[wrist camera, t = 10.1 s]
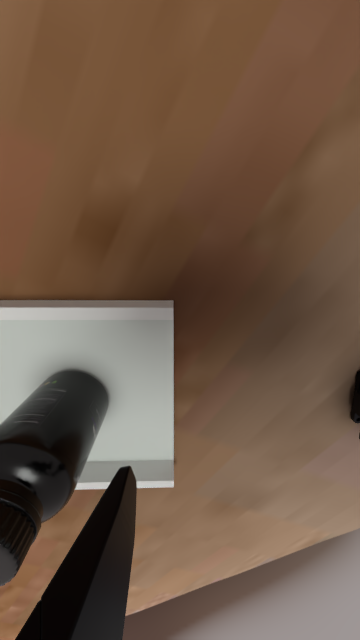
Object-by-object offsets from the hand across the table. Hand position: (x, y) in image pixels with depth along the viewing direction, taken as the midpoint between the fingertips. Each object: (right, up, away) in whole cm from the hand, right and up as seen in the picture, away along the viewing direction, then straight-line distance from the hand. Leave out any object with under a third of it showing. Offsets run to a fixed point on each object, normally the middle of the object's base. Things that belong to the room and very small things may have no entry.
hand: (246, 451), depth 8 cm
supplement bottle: (-13, -3, +13) cm, 19 cm away
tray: (-13, -3, +13) cm, 19 cm away
